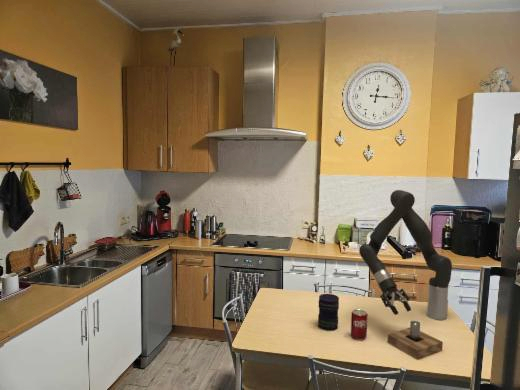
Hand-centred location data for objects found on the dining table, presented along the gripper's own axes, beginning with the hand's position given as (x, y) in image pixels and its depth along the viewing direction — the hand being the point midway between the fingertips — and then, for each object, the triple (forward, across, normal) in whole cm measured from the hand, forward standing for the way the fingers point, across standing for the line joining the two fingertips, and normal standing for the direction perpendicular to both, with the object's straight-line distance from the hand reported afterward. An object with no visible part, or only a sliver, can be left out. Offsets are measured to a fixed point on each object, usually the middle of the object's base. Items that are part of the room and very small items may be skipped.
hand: (403, 312), depth 165 cm
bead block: (+14, 0, +4) cm, 15 cm away
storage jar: (-9, -22, +28) cm, 37 cm away
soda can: (+1, -16, +17) cm, 24 cm away
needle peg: (+14, 0, +4) cm, 15 cm away
